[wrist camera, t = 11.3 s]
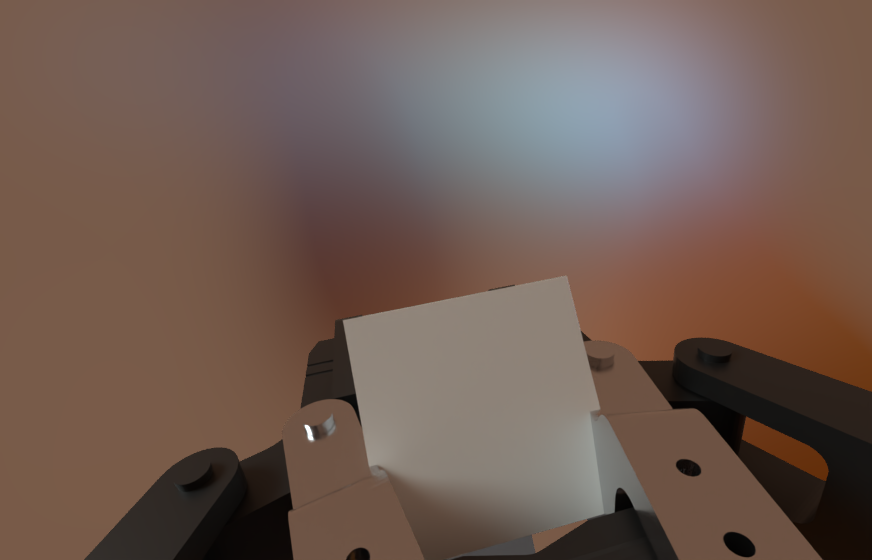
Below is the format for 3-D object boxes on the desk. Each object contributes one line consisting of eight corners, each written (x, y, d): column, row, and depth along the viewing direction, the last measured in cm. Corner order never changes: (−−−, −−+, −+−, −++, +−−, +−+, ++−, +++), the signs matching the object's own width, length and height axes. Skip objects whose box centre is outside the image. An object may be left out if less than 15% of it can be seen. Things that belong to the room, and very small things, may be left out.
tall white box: (388, 575, 6) (343, 320, 6) (389, 394, 27) (379, 340, 28) (625, 507, 6) (566, 275, 7) (442, 382, 28) (431, 329, 28)
